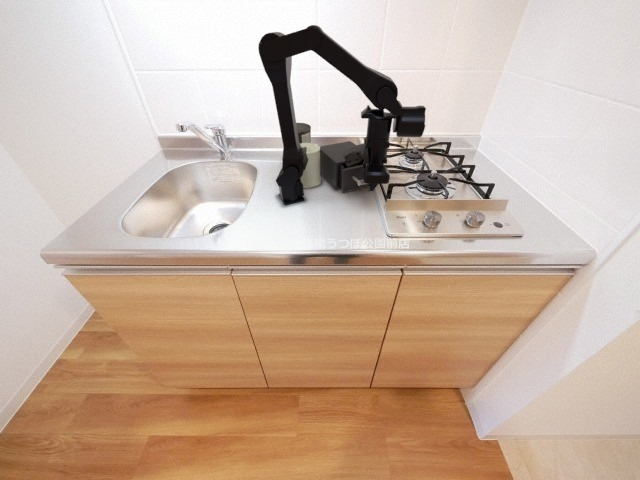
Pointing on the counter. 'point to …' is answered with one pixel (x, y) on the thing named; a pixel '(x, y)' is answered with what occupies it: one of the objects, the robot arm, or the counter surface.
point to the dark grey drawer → (351, 177)
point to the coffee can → (304, 132)
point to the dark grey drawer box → (333, 161)
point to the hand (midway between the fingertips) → (371, 190)
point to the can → (311, 166)
